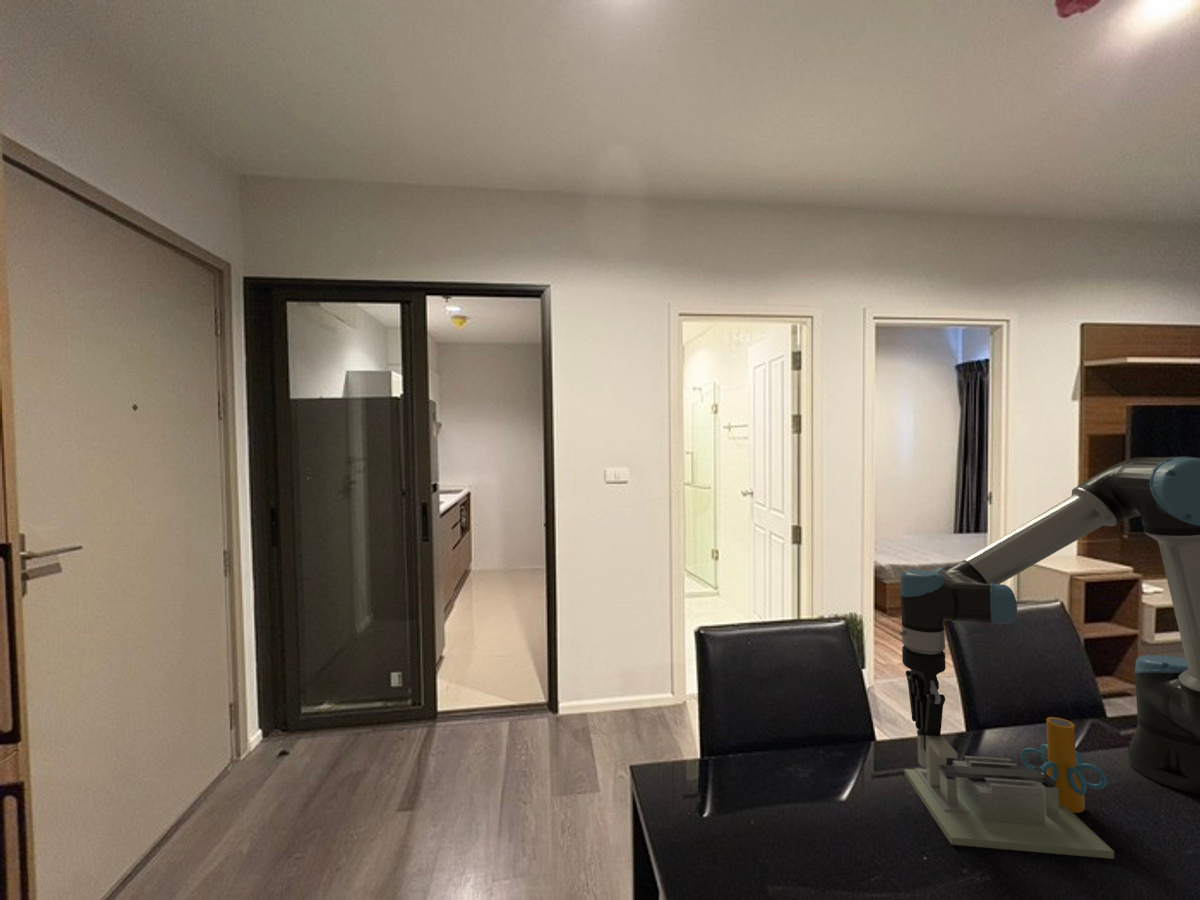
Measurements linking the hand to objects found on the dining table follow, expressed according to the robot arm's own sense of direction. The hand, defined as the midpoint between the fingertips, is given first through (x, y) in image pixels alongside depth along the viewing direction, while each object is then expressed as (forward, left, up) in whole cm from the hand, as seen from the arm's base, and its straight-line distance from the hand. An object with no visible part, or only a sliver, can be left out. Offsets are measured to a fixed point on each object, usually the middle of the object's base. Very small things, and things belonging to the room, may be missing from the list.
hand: (926, 764), depth 109 cm
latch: (0, +7, -1) cm, 7 cm away
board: (-8, +9, -3) cm, 13 cm away
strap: (-8, +9, +4) cm, 13 cm away
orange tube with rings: (-21, +6, -3) cm, 22 cm away
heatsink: (-8, +9, -2) cm, 12 cm away
